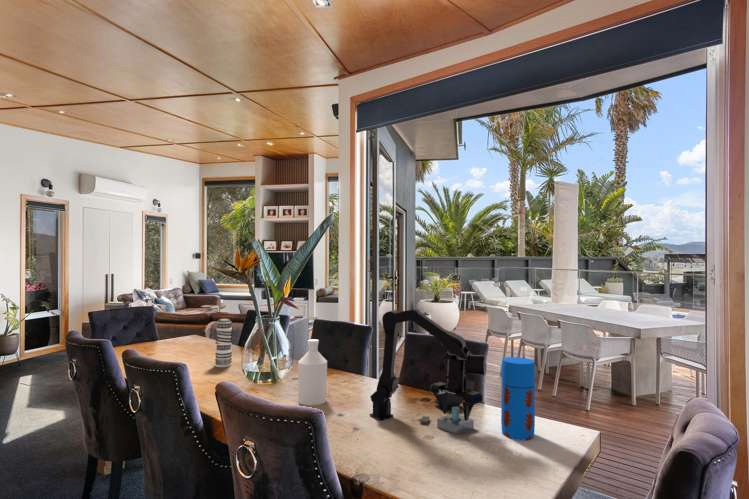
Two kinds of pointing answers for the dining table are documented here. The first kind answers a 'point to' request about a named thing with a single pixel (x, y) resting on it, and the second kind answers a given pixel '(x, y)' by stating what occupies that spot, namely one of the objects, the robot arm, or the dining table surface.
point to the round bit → (455, 413)
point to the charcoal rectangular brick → (424, 420)
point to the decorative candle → (223, 343)
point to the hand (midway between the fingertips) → (455, 417)
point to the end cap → (451, 401)
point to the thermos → (518, 398)
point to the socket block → (455, 424)
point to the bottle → (312, 376)
